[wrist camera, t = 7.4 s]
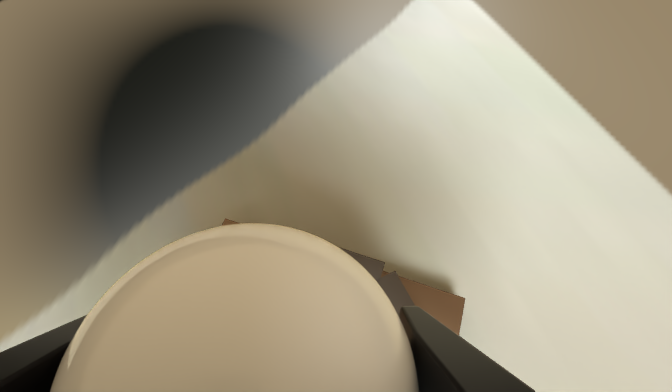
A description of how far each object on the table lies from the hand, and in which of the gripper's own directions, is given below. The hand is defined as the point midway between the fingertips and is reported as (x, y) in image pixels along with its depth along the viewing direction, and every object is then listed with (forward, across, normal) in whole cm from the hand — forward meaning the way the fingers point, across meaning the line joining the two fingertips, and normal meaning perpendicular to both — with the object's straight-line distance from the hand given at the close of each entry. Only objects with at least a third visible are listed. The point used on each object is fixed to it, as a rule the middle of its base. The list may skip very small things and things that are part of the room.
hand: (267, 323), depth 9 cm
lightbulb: (+4, 0, +6) cm, 7 cm away
